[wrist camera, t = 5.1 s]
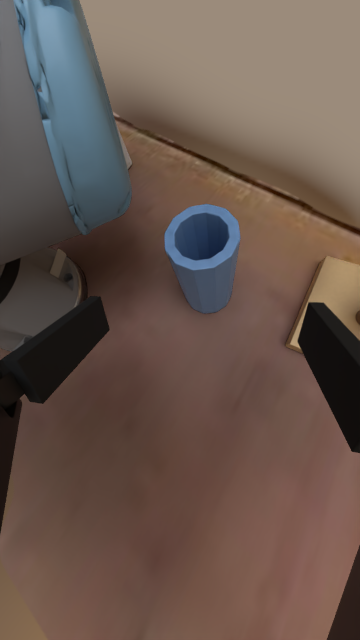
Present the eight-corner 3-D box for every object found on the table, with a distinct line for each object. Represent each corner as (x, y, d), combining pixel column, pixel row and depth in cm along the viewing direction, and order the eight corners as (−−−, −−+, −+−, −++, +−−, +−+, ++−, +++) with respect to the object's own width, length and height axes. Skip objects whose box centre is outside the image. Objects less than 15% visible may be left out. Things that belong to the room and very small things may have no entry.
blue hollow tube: (178, 302, 26) (151, 254, 15) (198, 266, 27) (184, 197, 16) (219, 320, 24) (219, 280, 14) (238, 281, 25) (252, 215, 15)
